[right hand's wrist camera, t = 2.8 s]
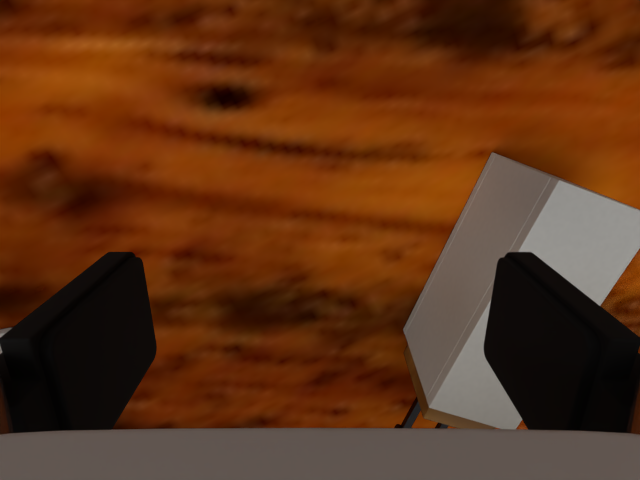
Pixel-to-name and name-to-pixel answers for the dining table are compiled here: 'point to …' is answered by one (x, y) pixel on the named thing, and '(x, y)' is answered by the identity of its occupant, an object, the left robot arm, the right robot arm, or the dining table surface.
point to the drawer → (429, 413)
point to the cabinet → (480, 267)
